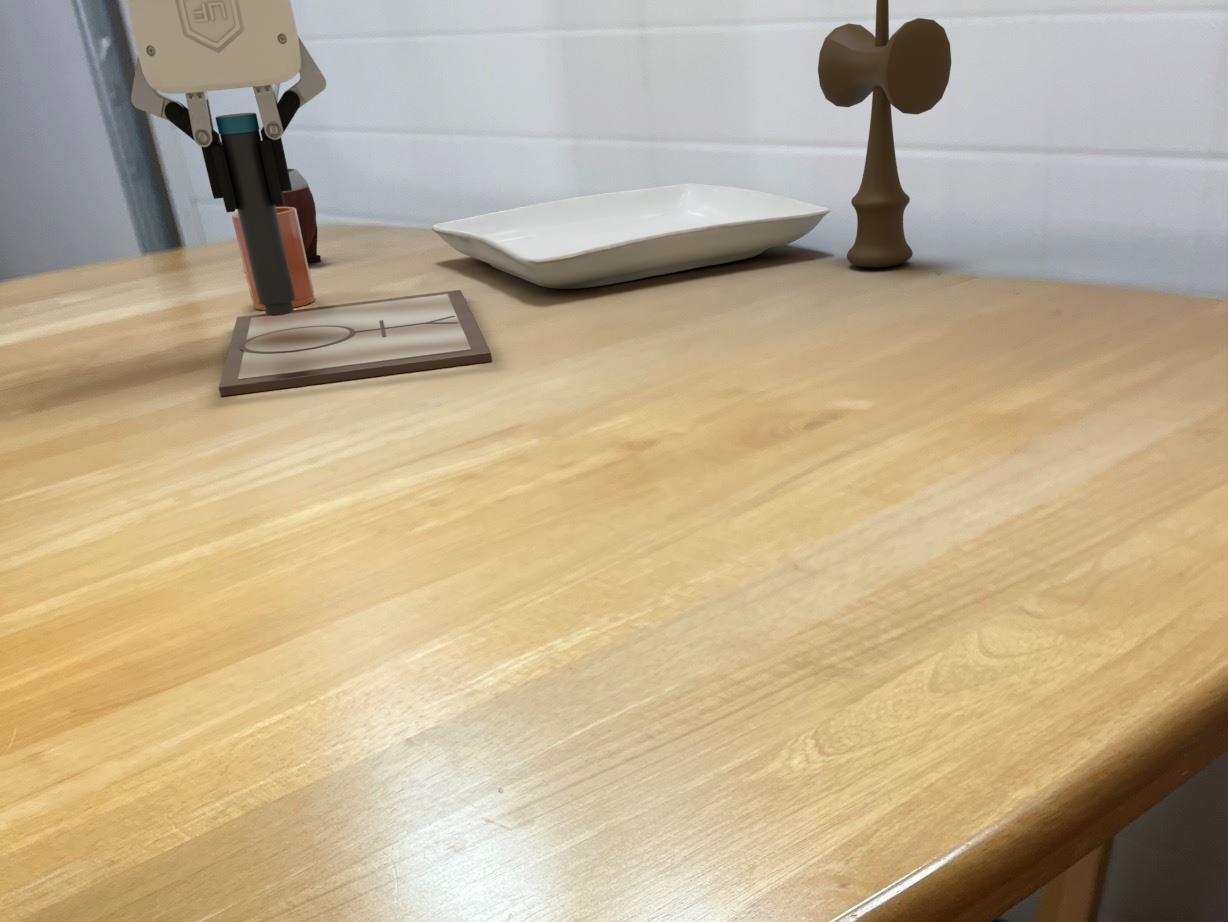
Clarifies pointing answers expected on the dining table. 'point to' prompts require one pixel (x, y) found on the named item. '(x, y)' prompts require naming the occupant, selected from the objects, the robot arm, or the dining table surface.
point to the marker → (257, 212)
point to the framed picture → (352, 342)
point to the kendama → (884, 115)
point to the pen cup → (293, 254)
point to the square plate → (631, 233)
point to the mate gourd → (302, 208)
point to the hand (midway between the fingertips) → (255, 204)
